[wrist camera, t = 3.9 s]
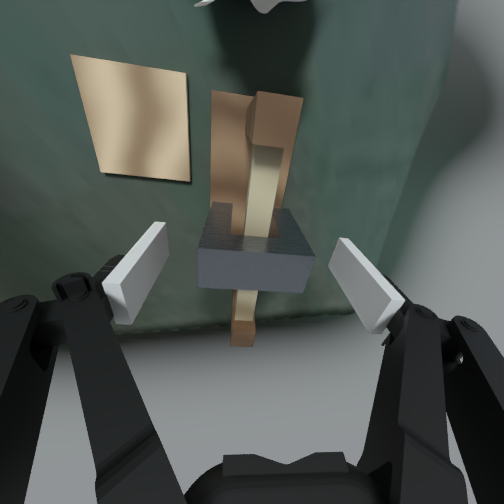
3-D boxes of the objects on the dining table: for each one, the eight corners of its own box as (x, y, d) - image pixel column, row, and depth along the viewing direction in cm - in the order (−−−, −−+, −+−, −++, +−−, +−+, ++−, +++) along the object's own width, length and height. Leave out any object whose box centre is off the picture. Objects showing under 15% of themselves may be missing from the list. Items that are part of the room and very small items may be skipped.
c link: (212, 231, 20) (198, 287, 13) (212, 201, 18) (197, 247, 12) (282, 237, 21) (303, 293, 14) (288, 208, 19) (315, 256, 12)
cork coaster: (103, 170, 24) (100, 171, 24) (74, 56, 19) (70, 54, 18) (191, 180, 25) (190, 181, 25) (187, 74, 20) (185, 73, 19)
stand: (268, 260, 32) (288, 353, 19) (210, 256, 31) (190, 351, 18) (299, 104, 22) (389, 81, 9) (212, 91, 21) (169, 42, 8)
